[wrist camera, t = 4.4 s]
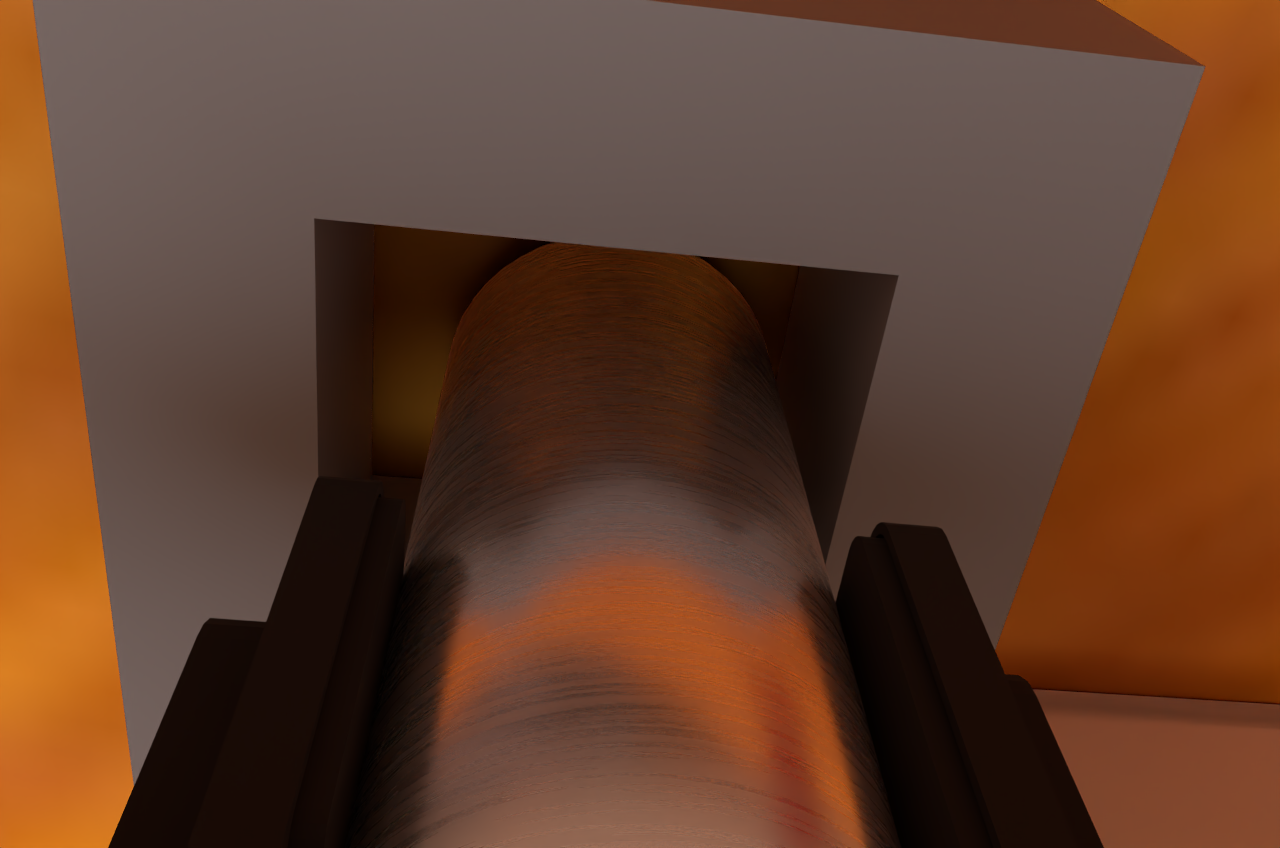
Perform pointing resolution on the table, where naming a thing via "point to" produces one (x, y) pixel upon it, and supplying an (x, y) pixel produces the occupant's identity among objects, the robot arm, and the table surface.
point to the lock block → (587, 243)
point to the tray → (1171, 768)
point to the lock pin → (615, 587)
